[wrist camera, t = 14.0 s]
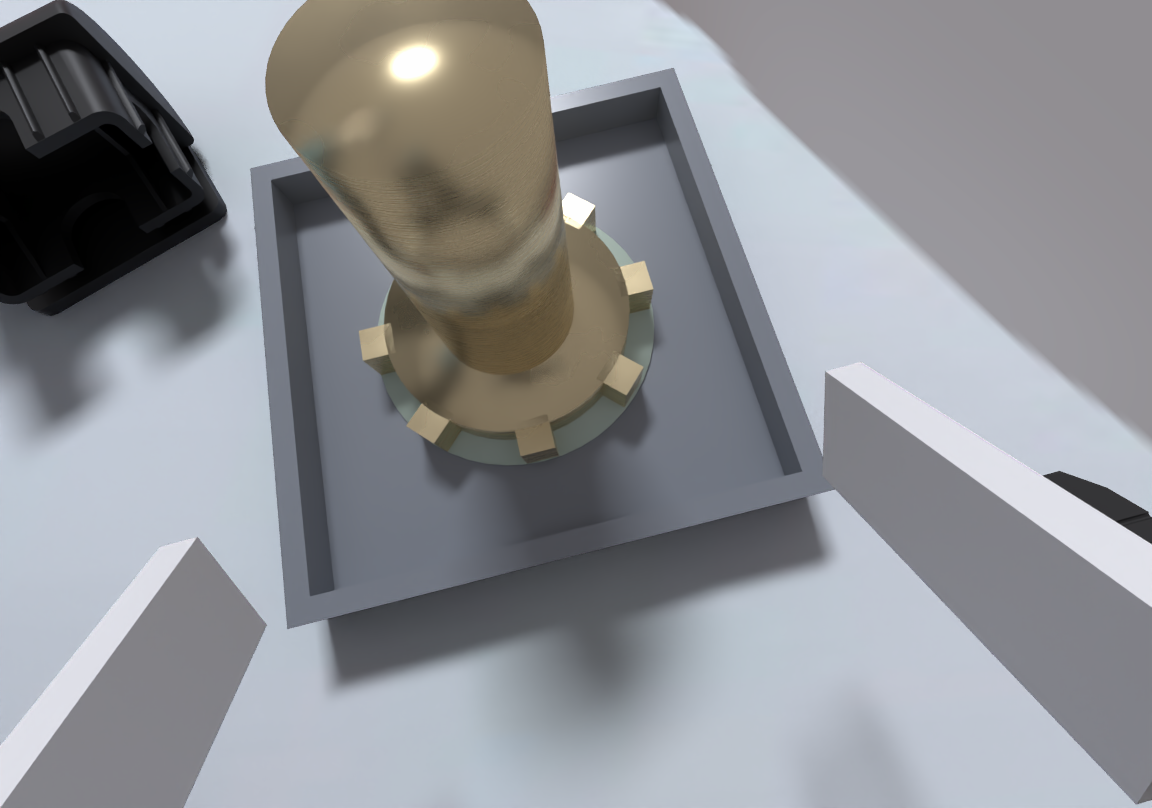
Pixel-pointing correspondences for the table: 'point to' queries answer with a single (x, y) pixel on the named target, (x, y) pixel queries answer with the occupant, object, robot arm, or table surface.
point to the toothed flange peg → (460, 212)
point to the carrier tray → (586, 446)
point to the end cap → (87, 163)
